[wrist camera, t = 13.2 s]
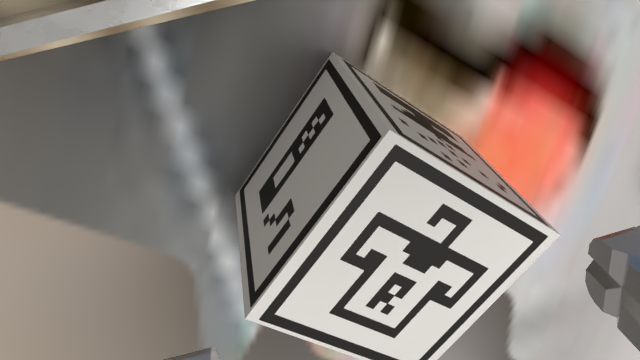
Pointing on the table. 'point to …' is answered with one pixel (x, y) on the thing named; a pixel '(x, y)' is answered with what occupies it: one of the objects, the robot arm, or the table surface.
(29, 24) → the silver rectangular frame
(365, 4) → the table surface
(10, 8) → the plate
